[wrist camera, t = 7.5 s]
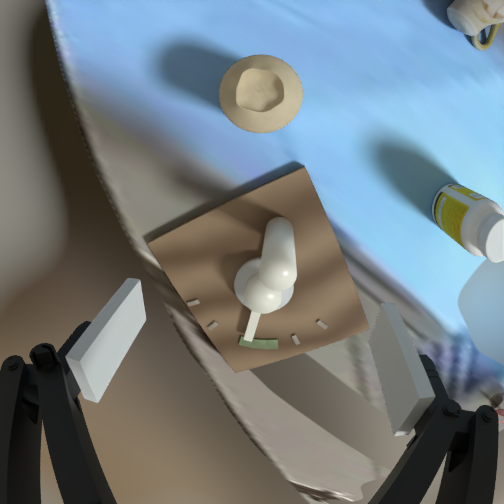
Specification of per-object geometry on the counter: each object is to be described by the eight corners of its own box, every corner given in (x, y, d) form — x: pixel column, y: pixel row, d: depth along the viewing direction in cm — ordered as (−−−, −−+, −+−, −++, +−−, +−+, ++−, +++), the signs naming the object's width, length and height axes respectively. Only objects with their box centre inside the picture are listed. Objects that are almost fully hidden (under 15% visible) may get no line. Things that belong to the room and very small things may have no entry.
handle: (251, 209, 29) (238, 246, 20) (313, 225, 29) (325, 268, 20) (223, 330, 35) (207, 388, 27) (273, 342, 35) (269, 401, 27)
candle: (254, 140, 27) (240, 149, 18) (226, 91, 26) (198, 76, 17) (307, 114, 26) (320, 109, 17) (278, 64, 24) (276, 35, 15)
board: (150, 240, 33) (146, 244, 31) (304, 165, 28) (305, 167, 27) (235, 367, 39) (234, 374, 38) (367, 323, 34) (370, 330, 33)
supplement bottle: (441, 239, 29) (486, 281, 20) (422, 199, 28) (471, 232, 19) (475, 214, 28) (526, 248, 19) (459, 173, 26) (514, 197, 17)
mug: (422, 12, 20) (463, -47, 10) (448, -1, 21) (482, -47, 11) (476, 62, 20) (529, 12, 10) (493, 40, 21) (534, 0, 11)
